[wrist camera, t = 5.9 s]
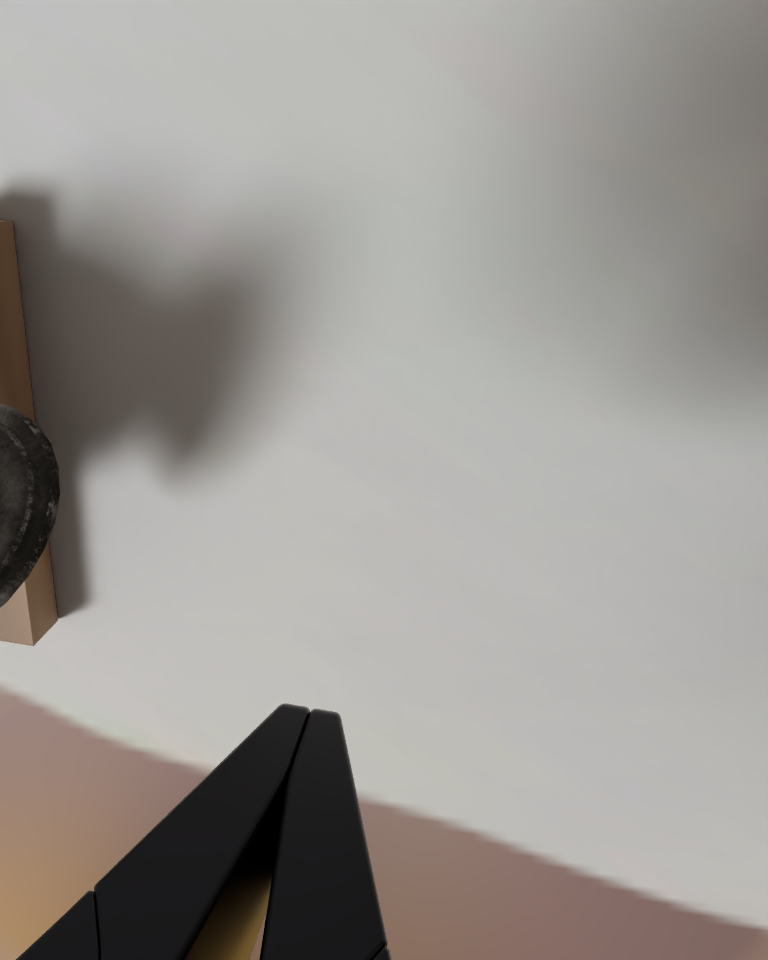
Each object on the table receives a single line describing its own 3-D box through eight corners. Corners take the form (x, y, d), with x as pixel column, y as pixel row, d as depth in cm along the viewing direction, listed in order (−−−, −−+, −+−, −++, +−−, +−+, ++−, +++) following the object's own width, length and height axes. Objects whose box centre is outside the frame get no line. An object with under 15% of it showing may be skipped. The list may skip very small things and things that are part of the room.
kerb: (12, 220, 14) (-25, 221, 13) (57, 620, 19) (33, 645, 18) (-31, 215, 14) (-71, 216, 13) (25, 614, 19) (-2, 640, 18)
